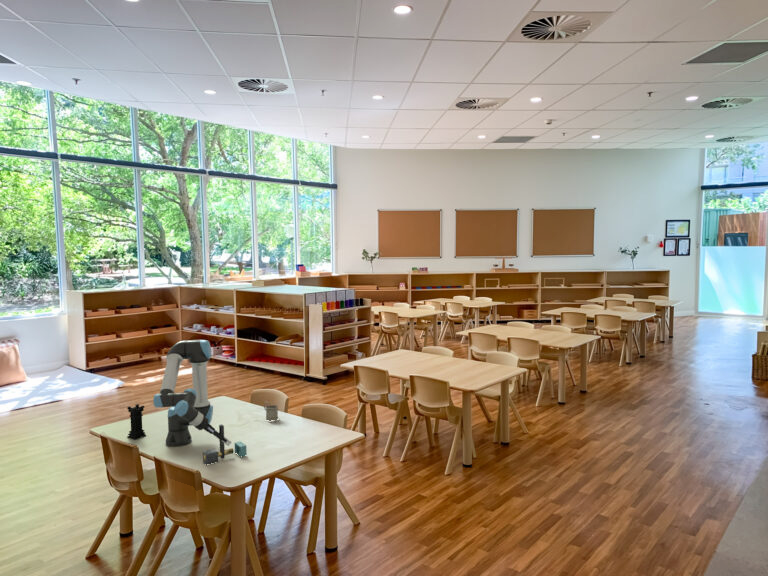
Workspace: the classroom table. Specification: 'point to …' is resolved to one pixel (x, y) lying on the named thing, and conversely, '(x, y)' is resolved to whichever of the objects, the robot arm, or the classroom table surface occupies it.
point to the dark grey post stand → (222, 445)
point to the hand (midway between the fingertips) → (228, 443)
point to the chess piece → (136, 422)
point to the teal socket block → (240, 448)
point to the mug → (271, 412)
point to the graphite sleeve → (210, 456)
